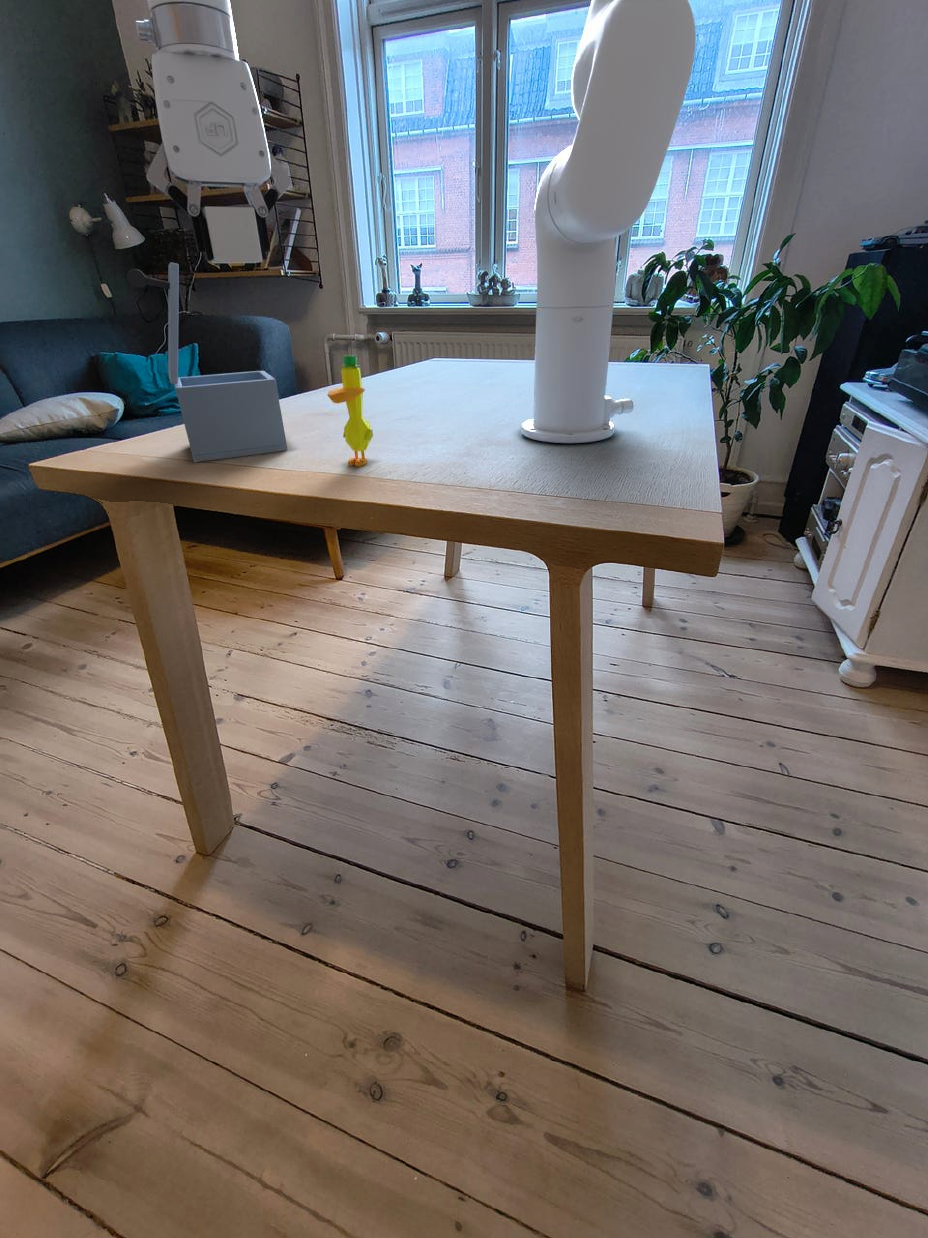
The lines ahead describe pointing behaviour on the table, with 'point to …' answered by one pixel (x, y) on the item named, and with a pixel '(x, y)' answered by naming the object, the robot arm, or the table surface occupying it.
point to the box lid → (139, 281)
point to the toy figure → (353, 409)
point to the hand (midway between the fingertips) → (235, 258)
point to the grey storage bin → (231, 415)
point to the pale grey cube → (233, 234)
